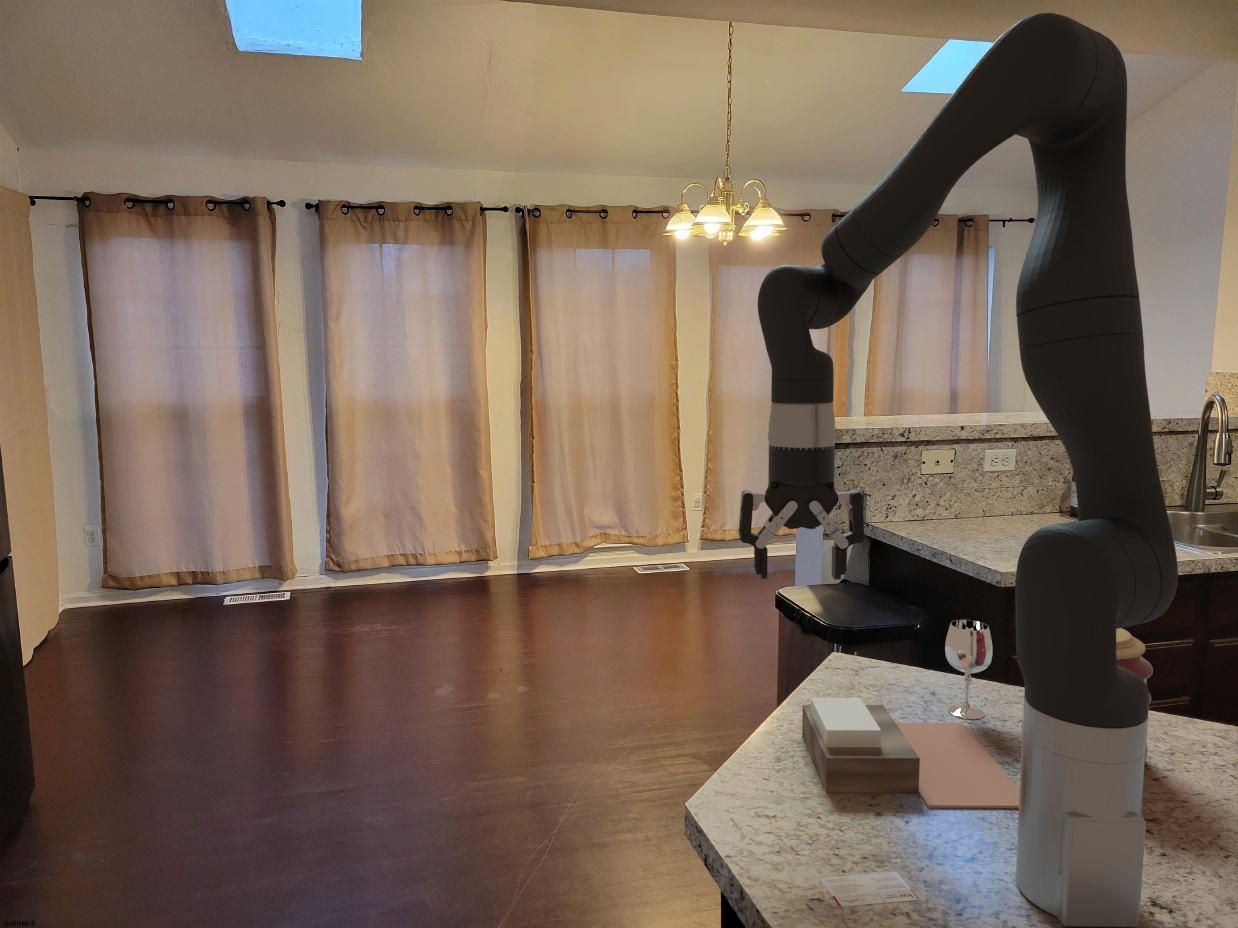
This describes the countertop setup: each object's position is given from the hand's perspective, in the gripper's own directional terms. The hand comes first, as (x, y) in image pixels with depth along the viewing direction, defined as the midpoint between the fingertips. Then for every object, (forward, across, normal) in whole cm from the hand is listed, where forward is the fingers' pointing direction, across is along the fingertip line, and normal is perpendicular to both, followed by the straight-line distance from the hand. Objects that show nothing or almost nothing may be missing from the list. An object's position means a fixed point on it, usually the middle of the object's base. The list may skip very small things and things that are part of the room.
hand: (799, 577), depth 98 cm
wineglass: (+22, +24, +11) cm, 34 cm away
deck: (+21, +6, -3) cm, 22 cm away
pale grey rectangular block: (+17, +5, -3) cm, 18 cm away
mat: (+21, +17, -3) cm, 27 cm away
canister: (+22, +33, 0) cm, 40 cm away
